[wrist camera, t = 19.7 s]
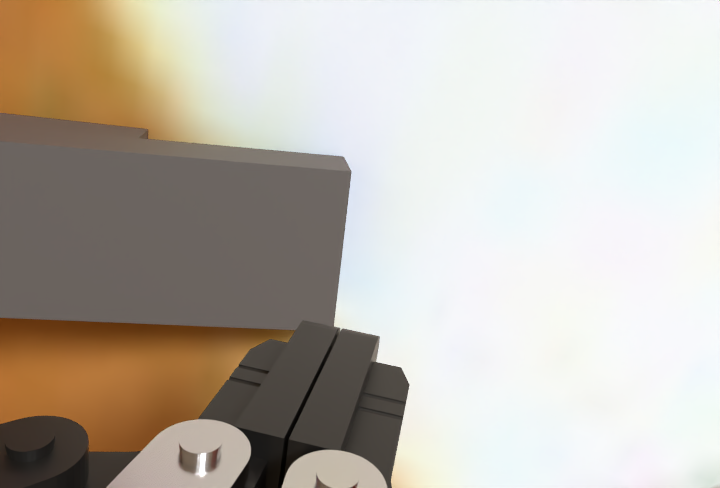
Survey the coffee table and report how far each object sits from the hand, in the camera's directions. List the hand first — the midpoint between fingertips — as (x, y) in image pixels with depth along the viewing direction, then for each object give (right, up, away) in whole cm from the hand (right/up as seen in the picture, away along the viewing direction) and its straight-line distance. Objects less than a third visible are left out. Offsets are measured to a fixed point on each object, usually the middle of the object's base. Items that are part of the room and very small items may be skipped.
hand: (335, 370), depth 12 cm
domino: (0, +2, +7) cm, 7 cm away
